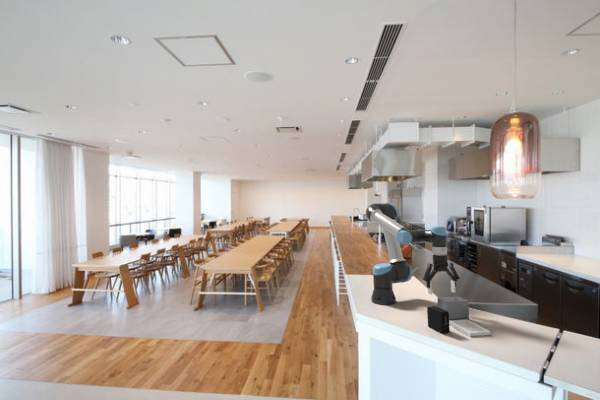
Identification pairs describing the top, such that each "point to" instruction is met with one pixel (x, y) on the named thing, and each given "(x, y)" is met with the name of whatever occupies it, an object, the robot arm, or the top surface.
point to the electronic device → (438, 319)
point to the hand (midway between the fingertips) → (441, 293)
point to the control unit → (455, 307)
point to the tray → (469, 328)
